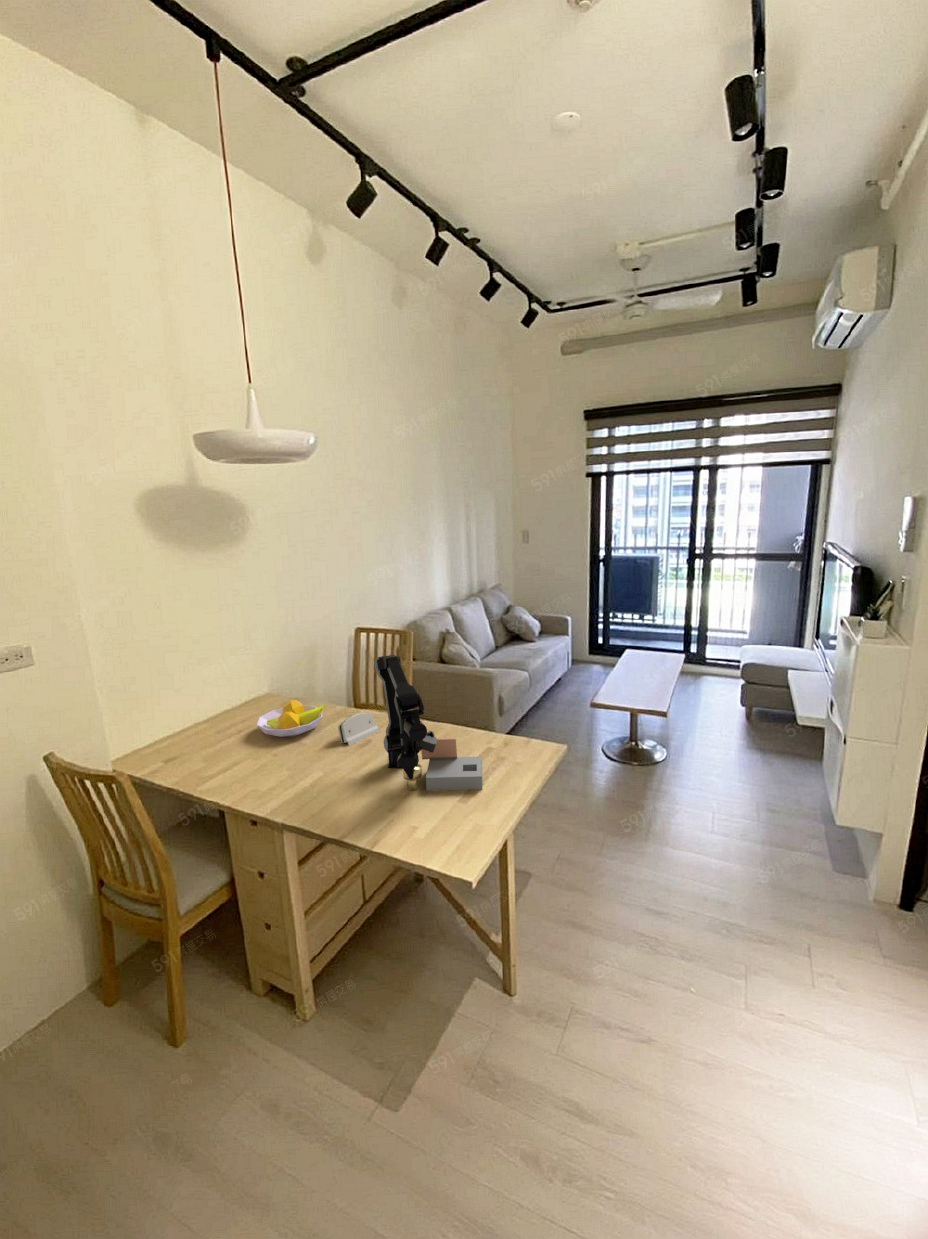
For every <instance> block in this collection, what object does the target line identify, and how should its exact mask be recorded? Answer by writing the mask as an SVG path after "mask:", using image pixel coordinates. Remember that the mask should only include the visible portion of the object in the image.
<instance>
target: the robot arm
mask: <svg viewBox="0 0 928 1239" xmlns="http://www.w3.org/2000/svg"><path fill="white" fill-rule="evenodd" d="M373 664H374V669H375V671H376V672H377V673H376V674H377V676H378V677H379V678H380V680H381V681H382V682H383V690H384V697H385V705H386V710H387V718H388V724H387V726H386V729H385V736H384V738H383V746H384V747H383V748H384V749H385V751H386V752H387V755H388V756H387V758H388V765H387V768H388V769H396V768H399V769H400V768H402V770H403V769H404V771H405V772H406V774H407V776H408V777H409V779H413V775H414V767H416V766H418V764H419V762H420V759H419V755H418V754H419V753H420V752H421V750H422V749H423V750H426V751H429V752H431V753H433V752H434V749H435V746H436V743H437V738H438V737H437V736H436V735H435V732H434V731H432V730H429V731H428V728H427V727H426V725H425V724H424V723H423V721H422V720H421V717H420V716H422V715H425V712H424V711H425V707H424V704H423V700H422V699H423V698H422V697H421V696H420V694H419V692H418V691H417V690H416V687H415V686H413V685H411V684H409V682H408V680H407V677H406V674H405V672H404V669H403V667H402V662H401V655H400V656H398V655H395V654H388V655H383V656H382V655H381V656H377V657H376V659H375V660H374V662H373Z"/></svg>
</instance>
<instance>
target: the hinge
mask: <svg viewBox="0 0 928 1239" xmlns="http://www.w3.org/2000/svg"><path fill="white" fill-rule="evenodd" d="M337 729H338V733H339V734H338V735H339V739H340V742H341V744H343V743H347V744H348V746H352V745H355V744H356V743H358V742H360V741H362V740H365V739H367V738H369V737H371V736H373V735H376V734H378V733H380V732H381V731H380V727H379V726H378V725H377V723H376V721H375V719H374V717H373V714H372V713H370V712H362V713H357V714H353V715H351V716H349V717H347V718H346V719H344V720H343V721H342V722H341V723H340V724H338V726H337Z"/></svg>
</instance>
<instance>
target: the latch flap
mask: <svg viewBox="0 0 928 1239" xmlns="http://www.w3.org/2000/svg"><path fill="white" fill-rule="evenodd" d="M436 738H437V743H436V746H435V749H434V752H433V753H431V752H429V751H426V750H423V749H422V750H421V751H420V752H421V759H422V760H430V759H455V758H457V757H458V753H457V750H458V749H457V737H436Z"/></svg>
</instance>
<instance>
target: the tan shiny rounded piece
mask: <svg viewBox="0 0 928 1239" xmlns="http://www.w3.org/2000/svg"><path fill="white" fill-rule="evenodd" d="M422 771H423V770H422V765H421V764H419V763H418V766H416V767H414V775H413V779H409V777H408V776H407V774H406V772H405V771H404V769H403V768H402V773H403V774H402V776H403V779H404V780H406V781H407V789H408V790H409V791H416V790H418V789H419V788H420V787H419V786H420V785H419V779H421V778H422V775H423V772H422Z"/></svg>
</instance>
